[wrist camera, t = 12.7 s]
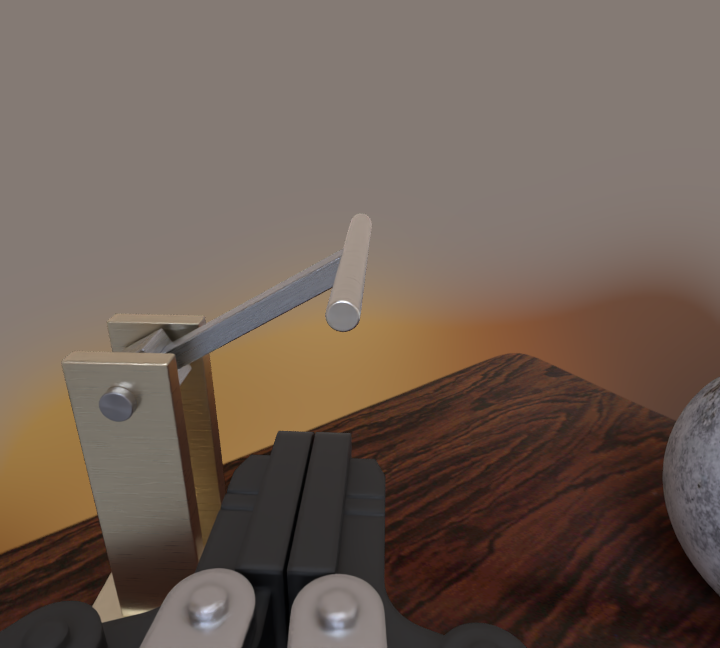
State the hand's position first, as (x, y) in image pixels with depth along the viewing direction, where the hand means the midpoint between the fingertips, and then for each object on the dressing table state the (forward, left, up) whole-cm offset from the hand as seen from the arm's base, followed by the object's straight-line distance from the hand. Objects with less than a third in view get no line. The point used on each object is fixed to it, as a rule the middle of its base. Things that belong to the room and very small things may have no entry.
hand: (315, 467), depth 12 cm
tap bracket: (+12, +9, -19) cm, 24 cm away
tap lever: (+12, +5, -3) cm, 14 cm away
